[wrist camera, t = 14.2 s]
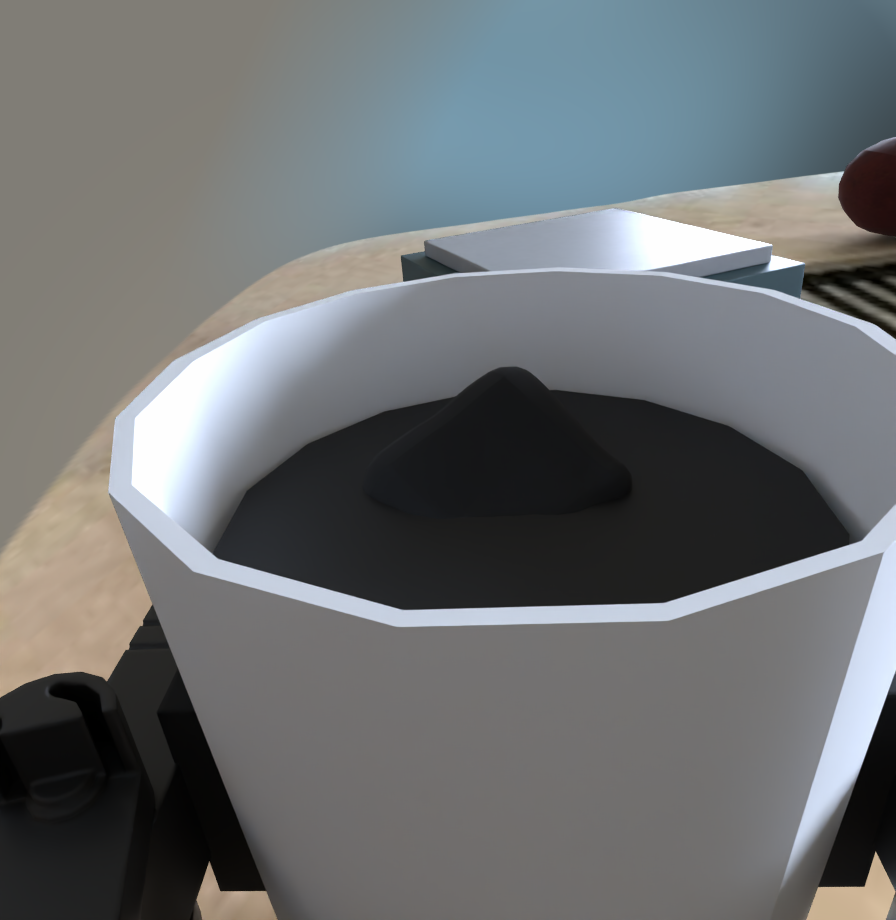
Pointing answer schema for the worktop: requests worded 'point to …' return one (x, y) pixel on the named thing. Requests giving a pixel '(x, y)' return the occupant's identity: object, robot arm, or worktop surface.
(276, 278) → the worktop surface
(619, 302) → the white coffee cup
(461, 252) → the scale
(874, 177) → the plum
